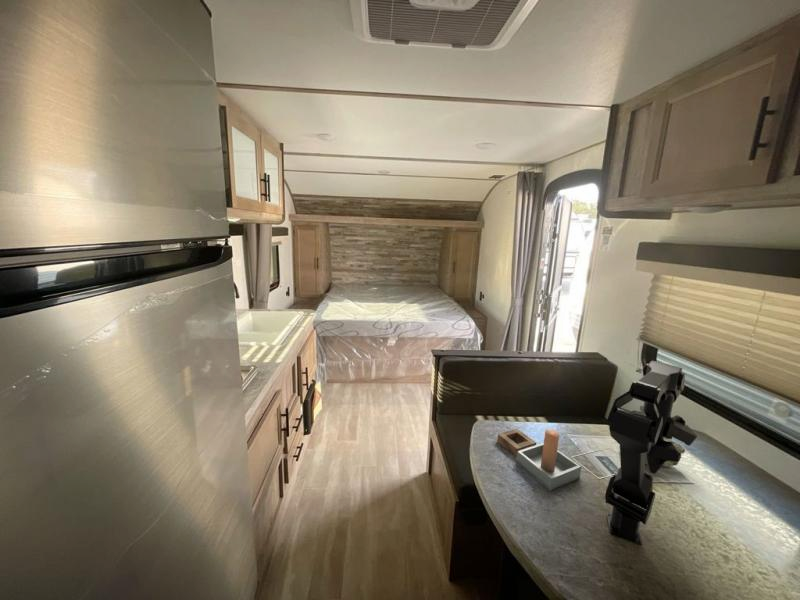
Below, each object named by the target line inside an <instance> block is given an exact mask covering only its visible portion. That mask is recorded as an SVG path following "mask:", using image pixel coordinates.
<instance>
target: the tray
mask: <svg viewBox="0 0 800 600" xmlns="http://www.w3.org/2000/svg"><path fill="white" fill-rule="evenodd" d="M543 444H544V442H542V443H538V444H536V445H535V446H532V447H529V448H526V449H523V450H520V451H517V457H516V460H515V461H516V463H517V465H519V466H520V467H521V468H522V469H524V470H525V471H526V472H527V473H528V474H529V475H530V476H532V477H533V478H534V479H535V480H536V481H537V482H539V483H540V484H541V485H542V486H544V487H545V488H546V489H547V490H548V491H552V490H555V489H557V487H558V488H560V487H562V486H564V484H565V485H567V484H569V483H572V482H574V481H576V480H579V479H580V478H581V472H582V466H581V465H580V464H579V463H577V462H576V461H575V460H573V459H572V458H571V457H569V456H567V455H566V454H564V453H563V452H561V450H558V449H557V456H556V463H555V470H554V472H547V471H545V470H543V469H542V468H541V459H542V452H543ZM571 481H572V482H571ZM566 483H567V484H566Z"/></svg>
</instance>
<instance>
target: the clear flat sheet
mask: <svg viewBox="0 0 800 600" xmlns="http://www.w3.org/2000/svg"><path fill="white" fill-rule="evenodd" d="M607 449H609V450H611V451H613V452H614V453H616V454H617V455H619V456H620V452H617V451H616V450H615V449H613V448H611V447H609V446H607V447H605V448H601V449H596V450H592V451H588V452H584V453H581V454H576V455H572V456H570V459H571V460H573V461H574V462H576V463H577V464H579V465H580V466H581V468H582V467H583V468H584V469H585V470H586V471H587V472H589V473H590V474H592V476H594V477H595V478H596V479H598V480H602V479H606V478H608V477H609V478H610V477H613V476H614V474H615V473H613V474H609V475H606V476H602V477H599V476H597V475H596V474H594V472H592V471H591V470H589V469H588V468H587V467H585V466H584V464H581V463H580V462H579V461H577V460H576V459H575V458H576V457H579V456H583V455H588V454H591V452H592V453H596V452H599V451H603V450H607ZM595 451H596V452H595ZM587 453H588V454H587ZM617 473H618V472H616V474H617Z"/></svg>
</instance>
